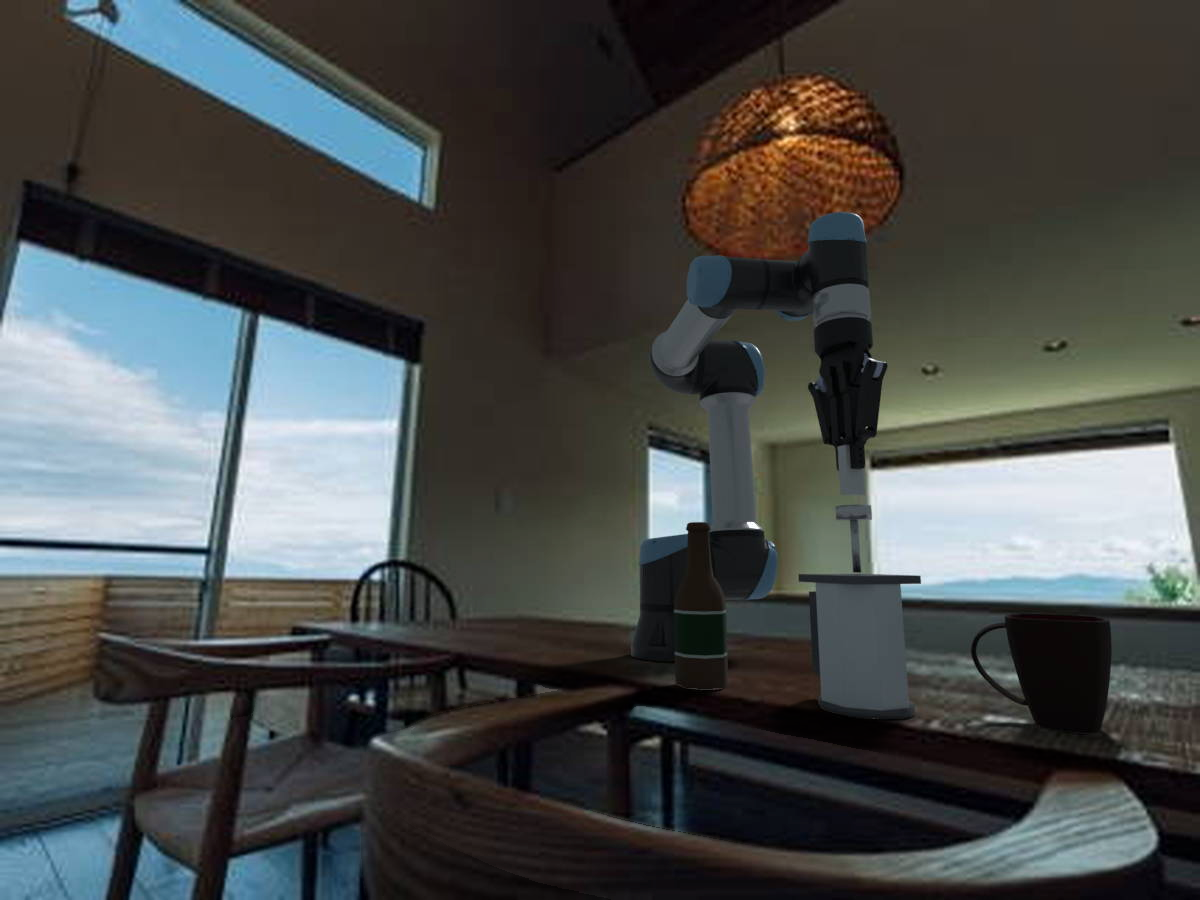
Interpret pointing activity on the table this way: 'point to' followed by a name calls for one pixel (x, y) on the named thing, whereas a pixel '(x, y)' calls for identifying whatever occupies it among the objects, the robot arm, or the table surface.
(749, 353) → the robot arm
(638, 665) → the table surface
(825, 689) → the grey capped canister
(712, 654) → the beer bottle
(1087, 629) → the cup
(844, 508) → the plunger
